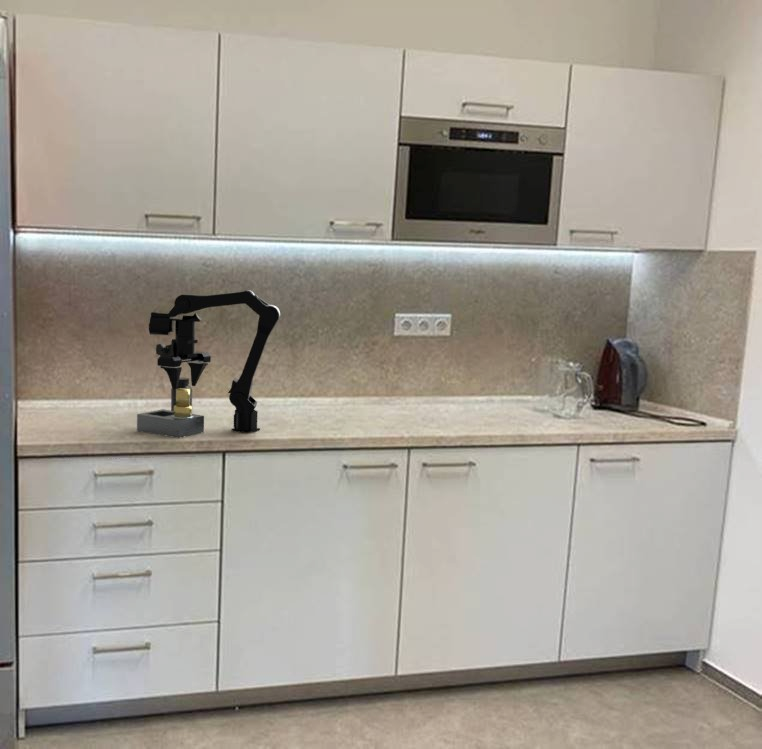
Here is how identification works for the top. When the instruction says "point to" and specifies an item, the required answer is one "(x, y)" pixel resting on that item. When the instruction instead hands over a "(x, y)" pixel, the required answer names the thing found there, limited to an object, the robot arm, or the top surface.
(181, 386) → the supplement bottle
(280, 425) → the top surface
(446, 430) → the top surface
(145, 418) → the housing
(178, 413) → the brass cap
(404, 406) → the top surface
